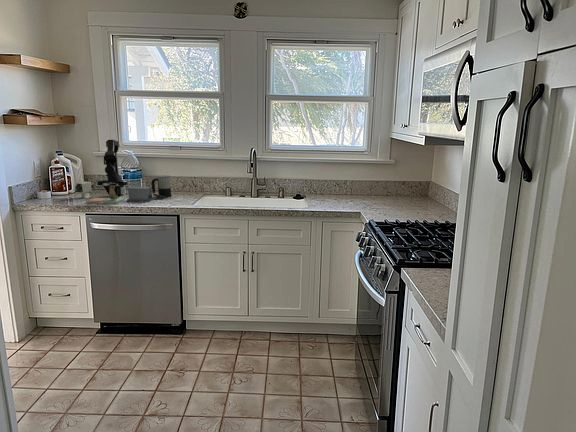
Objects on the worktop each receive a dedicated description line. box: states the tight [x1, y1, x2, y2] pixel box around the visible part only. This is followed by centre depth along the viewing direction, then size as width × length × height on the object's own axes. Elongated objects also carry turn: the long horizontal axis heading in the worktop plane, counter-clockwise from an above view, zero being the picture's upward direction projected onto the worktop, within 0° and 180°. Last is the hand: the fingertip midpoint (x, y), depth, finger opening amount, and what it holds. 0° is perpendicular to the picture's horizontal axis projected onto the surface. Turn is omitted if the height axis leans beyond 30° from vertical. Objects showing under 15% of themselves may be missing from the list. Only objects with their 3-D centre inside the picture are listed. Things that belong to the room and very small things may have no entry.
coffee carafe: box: [150, 175, 172, 199], centre depth 308 cm, size 14×16×15 cm
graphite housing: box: [127, 186, 155, 202], centre depth 297 cm, size 8×16×9 cm, turn 84°
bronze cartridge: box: [108, 186, 119, 199], centre depth 289 cm, size 5×5×8 cm
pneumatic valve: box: [75, 181, 94, 199], centre depth 304 cm, size 6×12×12 cm, turn 155°
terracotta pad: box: [85, 197, 109, 204], centre depth 292 cm, size 10×10×2 cm
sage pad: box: [102, 198, 125, 205], centre depth 290 cm, size 10×10×2 cm
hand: (113, 195), depth 290 cm, fingers closed on bronze cartridge, 5 cm apart
